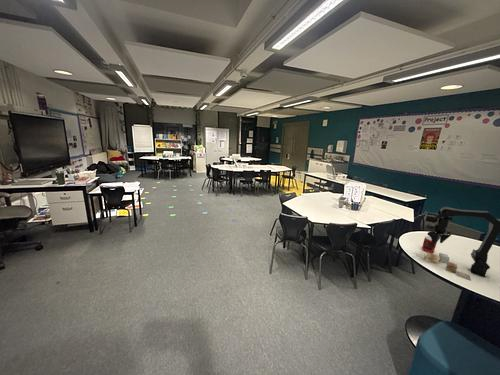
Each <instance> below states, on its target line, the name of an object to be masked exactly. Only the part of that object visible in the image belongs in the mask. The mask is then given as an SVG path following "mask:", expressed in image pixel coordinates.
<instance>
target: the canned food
mask: <svg viewBox="0 0 500 375" xmlns="http://www.w3.org/2000/svg"><path fill="white" fill-rule="evenodd" d="M424 236H425V235H424ZM422 242H423V243H422V246H421V249H422V251H423V252H426V253H427V252H429V253H432V254H434V252H435V249H436V247H437V243H438V242H437V243H436V244H435V245H432V239H431V237H430V236H429V235H426V236H425V237H424V239H423V241H422Z"/></svg>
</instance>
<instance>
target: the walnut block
mask: <svg viewBox="0 0 500 375" xmlns="http://www.w3.org/2000/svg"><path fill="white" fill-rule="evenodd" d="M457 269H458V265H457V264H456V263H453V262H450V261H448V263H446V266H445V271H446V272H449V273H452V274H456V271H458V270H457Z"/></svg>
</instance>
